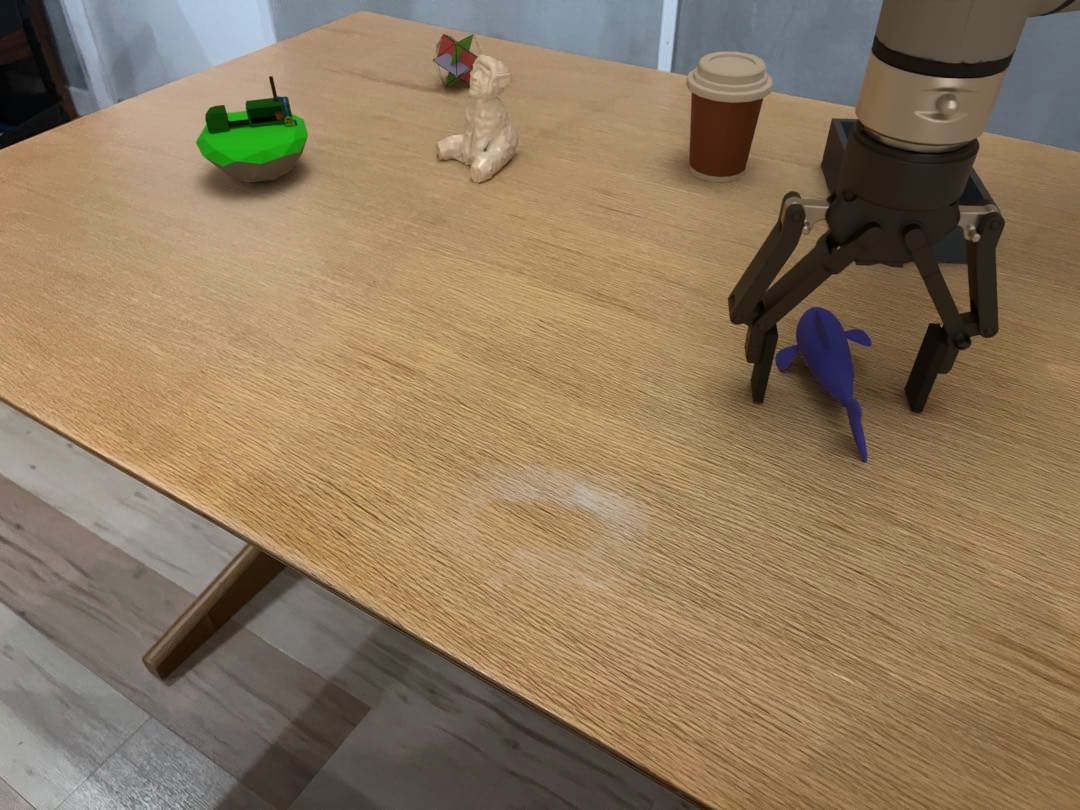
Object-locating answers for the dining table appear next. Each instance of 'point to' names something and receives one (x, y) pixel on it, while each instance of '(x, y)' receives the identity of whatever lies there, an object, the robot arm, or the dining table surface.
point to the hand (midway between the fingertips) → (834, 396)
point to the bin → (954, 242)
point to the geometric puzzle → (455, 58)
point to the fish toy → (830, 361)
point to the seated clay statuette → (484, 123)
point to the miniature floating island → (254, 139)
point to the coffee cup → (725, 113)
